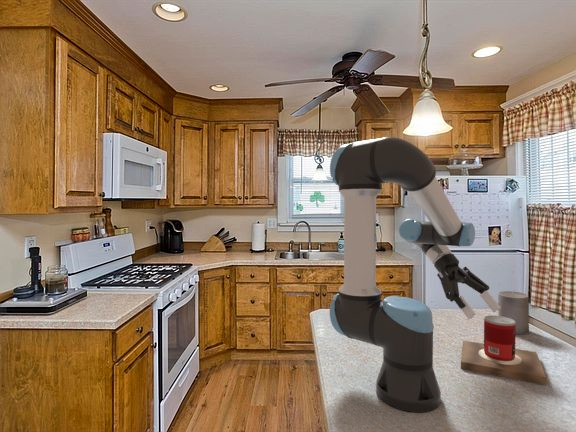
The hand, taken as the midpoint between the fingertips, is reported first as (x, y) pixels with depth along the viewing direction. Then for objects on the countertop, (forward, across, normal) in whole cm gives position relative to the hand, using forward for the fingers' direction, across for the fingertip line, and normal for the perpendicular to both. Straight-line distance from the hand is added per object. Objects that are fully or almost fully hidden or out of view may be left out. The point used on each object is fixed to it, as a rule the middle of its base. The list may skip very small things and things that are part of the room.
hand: (485, 313), depth 107 cm
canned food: (+12, +1, -5) cm, 12 cm away
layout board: (+13, +1, -6) cm, 14 cm away
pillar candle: (+4, -32, -15) cm, 36 cm away
